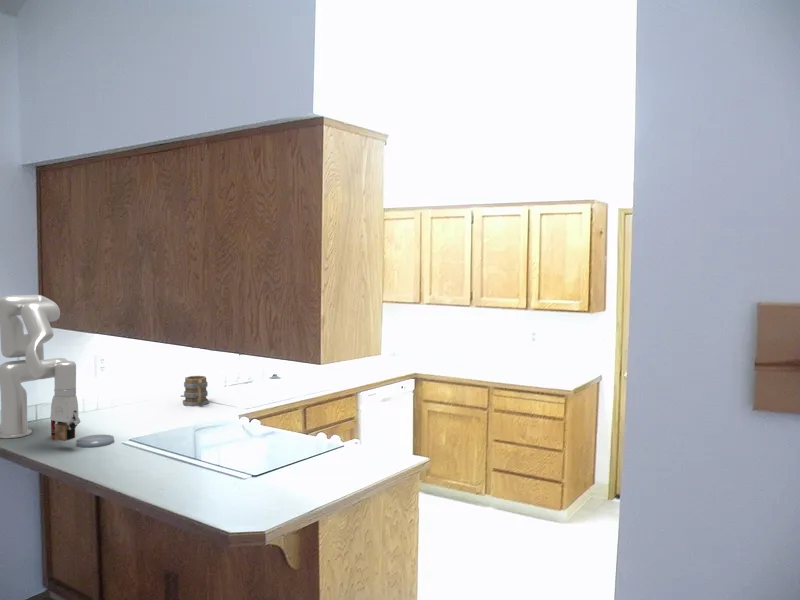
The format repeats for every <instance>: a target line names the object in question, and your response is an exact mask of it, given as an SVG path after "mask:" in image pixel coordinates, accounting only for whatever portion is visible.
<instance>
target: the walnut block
mask: <svg viewBox="0 0 800 600" xmlns="http://www.w3.org/2000/svg"><path fill="white" fill-rule="evenodd" d="M70 424H71V425H72V423H70ZM67 430H68V426H67V423H63V422H62V423H58V424H55V439H56V441H62V442H67V441H70V440H71V439H69V440H67ZM75 438H76V436H75V437H74V438H73V439H75Z"/></svg>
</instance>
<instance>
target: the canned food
mask: <svg viewBox="0 0 800 600" xmlns="http://www.w3.org/2000/svg"><path fill="white" fill-rule="evenodd" d="M50 437H51V439H52V440H53V441H55V440H56V439H55V424H54V423H53V421H52V420H51V419H50ZM56 441H57V440H56Z"/></svg>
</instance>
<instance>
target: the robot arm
mask: <svg viewBox="0 0 800 600" xmlns="http://www.w3.org/2000/svg"><path fill="white" fill-rule="evenodd" d="M19 316H21V318H22V320H21V319H20V318H19ZM60 316H61V310H60V307H59V306H58V304H57V303H56V302H55V301H54V300H51V299H50V298H48V297H46V296H43V295H41V294H15V295H13V294H12V295H6V296H2V297H0V352H1V355H2V356H3V357H4V358H7V359H8V358H9V359H10V358H11V359H13V358H24V357H25V358H24V359H18V360H17V359H16V360H10V361H5V362H4V363H1V364H0V438H1V439H16V438H22V437H26V436H29V435H31V434H32V429H30V428H28V392H27V390H26V389H25V388H24V386H23V385H22V384H21V383H26V382H34V381H39V380H46V379H51V378H54V389H53V391H54V395H53V396H52V400H51V406H50V417H49V418H50V421H51V420H52V421H53V423H54V424H58V423H62V422H63V423H67V426H68V430H67V441H70V440H73V439H75V438H76V428H77V426H78V425H79V424H80V423H81V422H82V421H81V420H80V418H79V403H78V402H79V401H78V397H77V363H76V361H75V362H74V361H72V360H68V359H66V358H65V357H64V358H63V357H58V358H57V357H55V358H48V359H46V358H45V353H44V351H45V350H44V344H45V343H47V342H49V341H50V340H51V339H52V338H53V337H54V330H53V329H52V326H51V324H50V322H56V321H58V320H59V319H60ZM24 325H25V327H24ZM24 328H25V329H26V332H27V333H26V334H25V333H24ZM44 358H45V359H44ZM70 423H72V425H71V424H70ZM74 437H75V438H74ZM69 439H70V440H69Z"/></svg>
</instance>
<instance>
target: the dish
mask: <svg viewBox="0 0 800 600" xmlns="http://www.w3.org/2000/svg"><path fill="white" fill-rule="evenodd" d="M75 440H76V441H75V443H76V446H77V447H79V448H84V449H85V448H89V449H90V448H99V447H100V448H101V447H104V446H105V447H106V446H108V445H112V444H113V443H114V442H115V437H114V435H111V434H92V435H90V434H89V435H86V436H82V437H79V438H78V439H75Z"/></svg>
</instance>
